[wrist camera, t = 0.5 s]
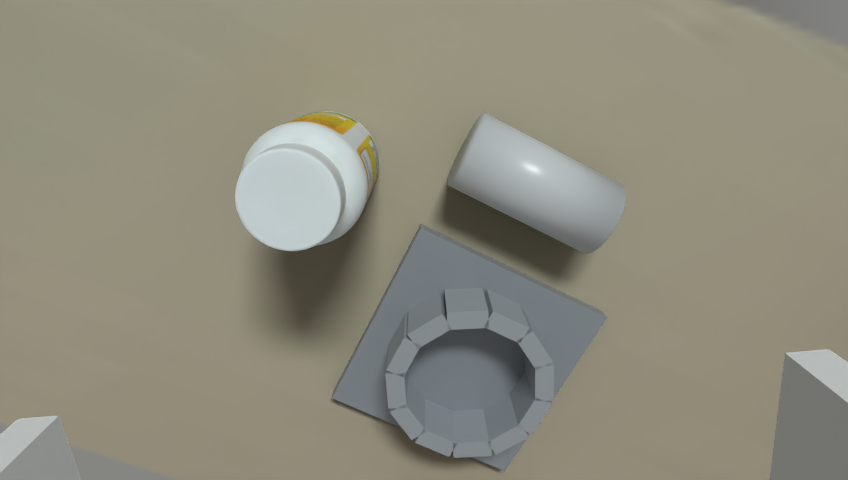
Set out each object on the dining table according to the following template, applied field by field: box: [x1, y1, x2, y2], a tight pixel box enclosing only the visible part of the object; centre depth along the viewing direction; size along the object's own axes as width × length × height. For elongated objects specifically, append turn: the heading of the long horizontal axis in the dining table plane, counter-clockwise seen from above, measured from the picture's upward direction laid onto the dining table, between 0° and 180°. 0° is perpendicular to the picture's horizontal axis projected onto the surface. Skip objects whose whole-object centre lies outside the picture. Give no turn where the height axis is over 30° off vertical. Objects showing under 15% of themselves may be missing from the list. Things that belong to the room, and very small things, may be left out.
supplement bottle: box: [235, 111, 379, 251], centre depth 25 cm, size 5×5×10 cm
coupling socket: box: [332, 224, 606, 471], centre depth 31 cm, size 12×12×4 cm
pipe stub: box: [447, 113, 626, 254], centre depth 28 cm, size 8×4×4 cm, turn 63°
